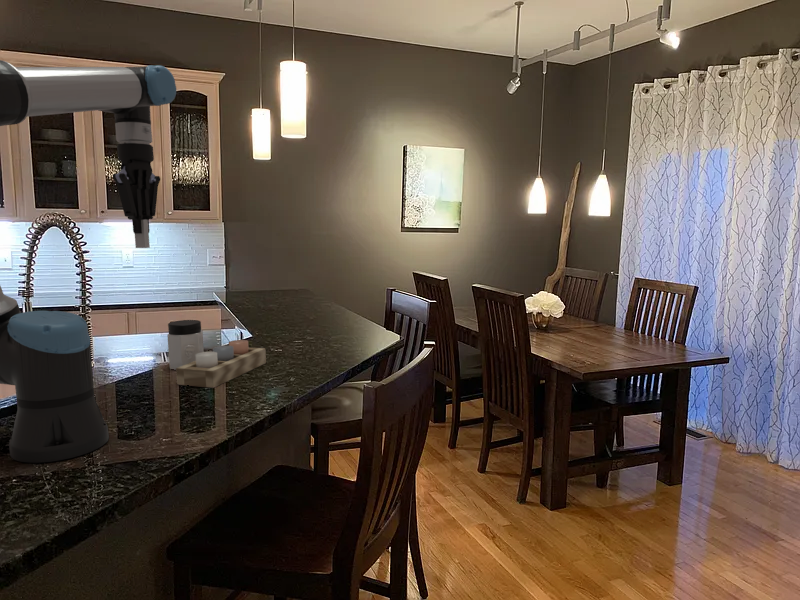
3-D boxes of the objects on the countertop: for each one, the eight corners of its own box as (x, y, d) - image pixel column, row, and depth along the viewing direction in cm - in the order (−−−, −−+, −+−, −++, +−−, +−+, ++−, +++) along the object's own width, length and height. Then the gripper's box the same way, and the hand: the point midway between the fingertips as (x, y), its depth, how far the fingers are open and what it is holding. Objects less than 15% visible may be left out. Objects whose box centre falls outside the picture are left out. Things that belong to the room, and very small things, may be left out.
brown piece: (242, 363, 156) (241, 344, 156) (225, 362, 158) (224, 343, 157) (252, 358, 161) (251, 340, 160) (236, 357, 163) (235, 339, 162)
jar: (173, 373, 154) (170, 326, 152) (166, 366, 161) (163, 322, 159) (209, 367, 159) (206, 322, 157) (200, 361, 166) (197, 318, 164)
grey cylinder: (227, 370, 150) (226, 350, 149) (209, 368, 151) (208, 349, 151) (238, 365, 155) (237, 346, 154) (221, 363, 156) (220, 344, 155)
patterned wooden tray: (213, 387, 140) (212, 371, 140) (177, 384, 143) (176, 368, 143) (266, 362, 163) (265, 348, 162) (233, 360, 166) (233, 346, 165)
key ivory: (210, 377, 143) (209, 356, 142) (192, 376, 145) (191, 355, 144) (222, 372, 148) (221, 352, 147) (205, 370, 149) (203, 351, 149)
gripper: (127, 139, 130) (136, 249, 133) (167, 145, 142) (174, 246, 146) (99, 141, 132) (108, 249, 136) (141, 147, 145) (148, 246, 148)
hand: (142, 247), depth 141 cm, fingers closed
